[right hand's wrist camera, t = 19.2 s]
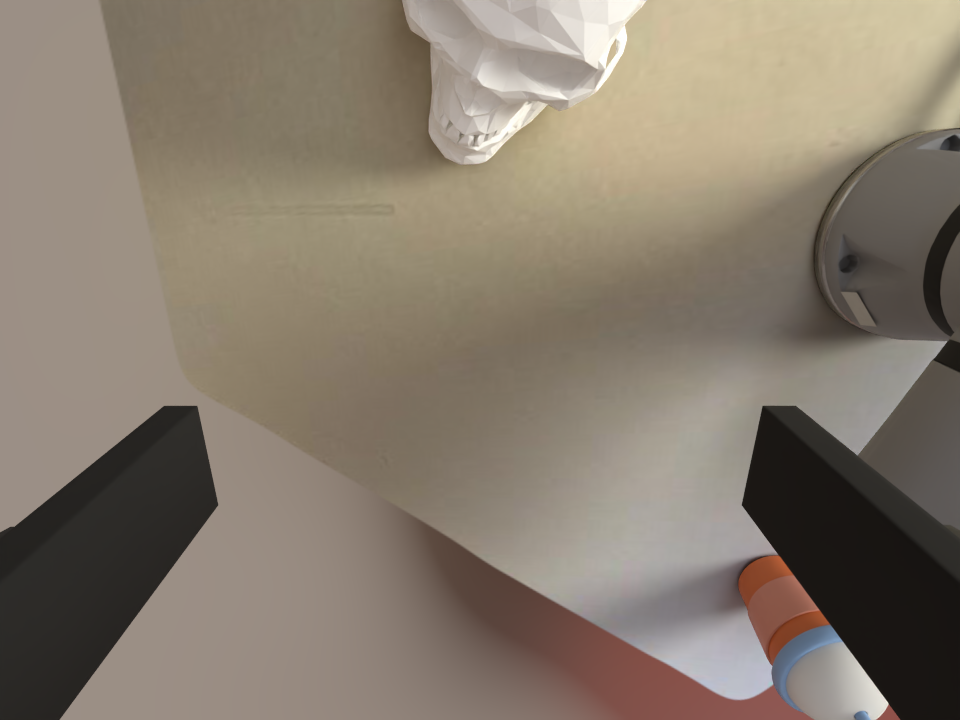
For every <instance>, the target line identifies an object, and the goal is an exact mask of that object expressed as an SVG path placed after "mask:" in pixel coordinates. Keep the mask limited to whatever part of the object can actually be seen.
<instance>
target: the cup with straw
mask: <svg viewBox="0 0 960 720" xmlns="http://www.w3.org/2000/svg"><path fill="white" fill-rule="evenodd" d="M738 587H739V591H740V594H741V596H742V598H743V601H744V603H745V605H746V607H747V609H748V616H749V618H750V621H751V623H752V625H753V628H754V630H755V632H756V634H757V637H758V639H759V641H760V643H761V645H762V648H763V650H764V652H765V654H766V657H767V659H768V661H769V662H770V664H771V665H772V680H773V684H774V686H775V688H776V690H777V692H778V694H779V695H780V696H781V698H782V699H783V700H784V701H785V702H786V703H787V704H788V705H790V706H791V707H793V708H794V709H796V710H798V711H801V712H803V713H805V714H807V715H808V716H810V717H811V718H813V719H815V720H876V719H877V718H878V717H880V716H881V715H882V713H883V712H884V711H885V709H886V708H887V706H888V704H889V703H888V702H887V701H886V699H885V698H884V697H883V695H882V694H881V693H880V691H879V690H878V689H877V687H876V686H875V685H874V683H873V682H872V680H871V679H870V678H869V676H868V675H867V674H866V672H865V671H864V670H863V668H862V667H861V666H860V664H859V663H858V662H857V660H856V659H855V657H854V656H853V655H852V653H851V652H850V651H849V649H848V648H847V647H846V645H845V644H844V643H843V641H842V640H841V639H840V637H839V636H838V634H837V633H836V632H835V630H834V629H833V628H832V626H831V625H830V624H829V622H828V621H827V620H826V618H825V617H824V616H823V614H822V613H821V611H820V610H819V609H818V607H817V606H816V605H815V603H814V602H813V601H812V599H811V598H810V597H809V595H808V594H807V593H806V591H805V590H804V589H803V587H802V586H801V584H800V583H799V582H798V580H797V579H796V578H795V576H794V575H793V574H792V572H791V571H790V570H789V568H788V567H787V566H786V564H785V563H784V561H783V560H782V559H781V557H780V556H767V557H763V558H760V559H758V560H756V561H754V562H752V563H751V564H749V565H748V566H747V567H746V568H745V569H744V571H743V572H742V574H741V575H740V578H739V582H738Z"/></svg>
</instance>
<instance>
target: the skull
mask: <svg viewBox="0 0 960 720" xmlns="http://www.w3.org/2000/svg"><path fill="white" fill-rule="evenodd" d="M646 1H647V0H402V3H403V7H404V12H405V16H406V20H407V23H408V25H409V27H410V29H411V31H412V32H414V33H415V34H417V35H419V36H420V37H422V38H423V39H425V40H426V41H428V42H429V43H430V59H431V78H432V96H431V108H430V114H429V134H430V136H431V139H432V141H433V142H434V143H435V145H436V146H437V147H438V149H439V150H440V151H441V153H442V154H443V155H444V157H445V158H447V159H449V160H451V161H453V162H455V163H457V164H459V165H467V164H479V163H483V162H486V161H487V160H488V159H490V158H491V157H492V156H493V155H494V154H495V153H496V152H497V151H498V150H499V148H500V147H501V146H502V145H503V144H504V143H505V142H506V141H507V140H508V139H510V138H511V137H512V136H513V135H514V134H515V133H516V132H517V131H519V130H520V129H521V128H523V127H524V126H526V125H527V124H528V123H530V122H531V121H532V120H533V119H534V118H535V117H536V116H537V115H538V114H539V113H540V112H541V111H542V110H543V109H544V108H545V107H546V106H547V105H550V106H551V107H553V108H555V109H556V110H558V111H561V110H565V109H568V108H570V107H572V106H574V105H575V104H577V103H579V102H581V101H583V100H585V99H587V98H588V97H590V96H591V95H593V94H594V93H595V92H597V91H598V89H599V88H600V87H601V86H602V84H603V83H604V82H605V81H606V79H607V78H608V77H609V75H610V74H611V72H612V70H613V69H614V67H615V65H616V64H617V62H618V60H619V59H620V57H621V55H622V54H623V51H624V47H625V44H626V40H627V36H626V31H625V26H624V25H625V24H626V23H627V21H628V20H629V19H630V18H631V17H632V16H633V15H634V14H635V13H636V12H637V11H638V10H639V9H640V8H641V7H642V6H643V4H644V3H645V2H646ZM614 40H615V41H616V55H615V56H614V58H613V59H612V60H611V62H610V63H609V65H608V66H607V67H606V61H607V56H608V53H609V50H610V47H611V45H612V44H613V42H614ZM605 68H606V69H605ZM463 134H464V135H463ZM474 135H476V136H474Z"/></svg>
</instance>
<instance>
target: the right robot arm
mask: <svg viewBox="0 0 960 720" xmlns="http://www.w3.org/2000/svg"><path fill="white" fill-rule="evenodd" d="M815 272H816V278H817V282H818V285H819V288H820V290H821V293H822V295H823V297H824V298H825V300H826V302H827V303H828V305H829V306H830V307H831V308H832V309H833V311H834V312H835V313H836V314H837V315H839V316H840V317H841V318H843V319H844V320H845V321H847V322H849V323H850V324H852V325H855V326H857V327H859V328H861V329H863V330H865V331H867V332H870V333H873V334H876V335H881V336H884V337H889V338H894V339H902V340H928V341H948V342H947V343H946V344H945V346H944V347H943V348H942V349H941V351H940V352H939V353H938V355H937V356H936V357H935V358H934V359H933V360H932V361H931V363H930V364H929V365H928V367H927V368H926V369H925V370H924V372H923V373H922V374H921V376H920V377H919V378H918V380H917V381H916V382H915V383H914V385H913V386H912V387H911V389H910V390H909V391H908V393H907V394H906V395H905V396H904V398H903V399H902V400H901V402H900V403H899V404H898V406H897V407H896V408H895V409H894V411H893V412H892V413H891V415H890V416H889V417H888V419H887V420H886V421H885V422H884V424H883V425H882V426H881V427H880V429H879V430H878V431H877V432H876V434H875V435H874V436H873V437H872V439H871V440H870V441H869V442H868V444H867V445H866V446H865V447H864V448H863V450H862V451H861V452H860V453H859V455H858V456H857V455H856V454H855V453H853V452H852V451H851V450H850V449H848V448H847V447H846V446H845V445H844V444H842V443H841V442H840V441H839V440H837V439H836V438H835V437H834V436H832V435H831V434H830V433H829V432H827V431H826V430H825V429H824V428H822V427H821V426H820V425H819V424H817V423H816V422H815V421H814V420H813V419H811V418H810V417H809V416H808V415H806V414H805V413H804V412H803V411H801V410H800V409H799V408H798V407H796V406H763V407H762V412H761V417H760V421H759V426H758V431H757V435H756V440H755V445H754V450H753V454H752V459H751V464H750V469H749V473H748V478H747V483H746V487H745V492H744V497H743V502H742V506H743V507H744V509H745V510H746V511H747V513H748V514H749V515H750V517H751V518H752V520H753V521H754V522H755V524H756V525H757V526H758V528H759V529H760V530H761V532H762V533H763V534H764V536H765V537H766V538H767V540H768V541H769V543H770V544H771V545H772V547H773V548H774V549H775V551H776V552H777V553H778V555H779V556H780V557H781V559H782V560H783V561H784V563H785V564H786V566H787V567H788V568H789V570H790V571H791V572H792V574H793V575H794V576H795V578H796V579H797V580H798V582H799V583H800V584H801V586H802V587H803V589H804V590H805V591H806V593H807V594H808V595H809V597H810V598H811V599H812V601H813V602H814V603H815V605H816V606H817V607H818V609H819V610H820V611H821V613H822V614H823V616H824V617H825V618H826V620H827V621H828V622H829V624H830V625H831V626H832V628H833V629H834V630H835V632H836V633H837V634H838V636H839V637H840V639H841V640H842V641H843V643H844V644H845V645H846V647H847V648H848V649H849V651H850V652H851V653H852V655H853V656H854V657H855V659H856V660H857V662H858V663H859V664H860V666H861V667H862V668H863V670H864V671H865V672H866V674H867V675H868V676H869V678H870V679H871V680H872V682H873V683H874V685H875V686H876V687H877V689H878V690H879V691H880V693H881V694H882V695H883V697H884V698H885V699H886V701H887V702H888V703H889V705H890V706H891V707H892V709H893V710H894V711H895V713H896V714H897V716H898V717H899V718H900V720H960V128H953V129H938V130H931V131H925V132H921V133H918V134H914V135H911V136H909V137H906V138H903V139H901V140H899V141H897V142H895V143H893V144H891V145H889V146H887V147H886V148H884V149H882V150H881V151H879V152H878V153H876V154H875V155H873V156H872V157H871V158H869V159H868V160H867V161H866V162H865V163H863V164H862V165H861V166H860V167H859V168H858V169H857V170H856V171H855V172H854V173H853V174H852V175H851V176H850V177H849V178H848V179H847V181H846V182H845V183H844V184H843V186H842V187H841V188H840V189H839V191H838V192H837V194H836V195H835V197H834V198H833V200H832V202H831V203H830V205H829V207H828V209H827V211H826V213H825V216H824V218H823V220H822V223H821V226H820V229H819V232H818V236H817V240H816V247H815ZM217 506H218V502H217V497H216V492H215V487H214V483H213V478H212V474H211V469H210V464H209V459H208V454H207V450H206V445H205V440H204V435H203V431H202V426H201V421H200V417H199V412H198V407H197V406H164V407H162V408H161V409H160V410H159V411H157V412H156V413H155V414H154V415H152V416H151V417H150V418H149V419H147V420H146V421H145V422H144V423H143V424H141V425H140V426H139V427H138V428H136V429H135V430H134V431H133V432H131V433H130V434H129V435H128V436H126V437H125V438H124V439H123V440H121V441H120V442H119V443H118V444H117V445H115V446H114V447H113V448H112V449H110V450H109V451H108V452H107V453H105V454H104V455H103V456H102V457H100V458H99V459H98V460H97V461H95V462H94V463H93V464H92V465H91V466H89V467H88V468H87V469H86V470H84V471H83V472H82V473H81V474H79V475H78V476H77V477H76V478H74V479H73V480H72V481H71V482H69V483H68V484H67V485H66V486H64V487H63V488H62V489H61V490H60V491H58V492H57V493H56V494H55V495H53V496H52V497H51V498H50V499H48V500H47V501H46V502H45V503H43V504H42V505H41V506H40V507H38V508H37V509H36V510H35V511H34V512H32V513H31V514H30V515H29V516H27V517H26V518H25V519H24V520H22V521H21V522H20V523H19V524H17V525H16V526H15V527H9V528H8V529H6V530H4V531H2V532H0V720H60V718H61V717H62V716H63V714H64V713H65V712H66V710H67V709H68V708H69V706H70V705H71V703H72V702H73V701H74V699H75V698H76V697H77V695H78V694H79V693H80V691H81V690H82V689H83V687H84V686H85V685H86V683H87V682H88V680H89V679H90V678H91V676H92V675H93V674H94V672H95V671H96V670H97V668H98V667H99V666H100V664H101V663H102V662H103V660H104V659H105V657H106V656H107V655H108V653H109V652H110V651H111V649H112V648H113V647H114V645H115V644H116V643H117V641H118V640H119V639H120V637H121V636H122V634H123V633H124V632H125V630H126V629H127V628H128V626H129V625H130V624H131V622H132V621H133V620H134V618H135V617H136V616H137V614H138V613H139V611H140V610H141V609H142V607H143V606H144V605H145V603H146V602H147V601H148V599H149V598H150V597H151V595H152V594H153V593H154V591H155V590H156V589H157V587H158V586H159V584H160V583H161V582H162V580H163V579H164V578H165V576H166V575H167V574H168V572H169V571H170V569H171V568H172V567H173V566H174V564H175V563H176V561H177V560H178V559H179V557H180V556H181V555H182V553H183V552H184V551H185V549H186V548H187V547H188V545H189V544H190V543H191V541H192V540H193V538H194V537H195V536H196V534H197V533H198V532H199V530H200V529H201V528H202V526H203V525H204V524H205V522H206V521H207V519H208V518H209V517H210V515H211V514H212V513H213V511H214V510H215V509H216V507H217Z"/></svg>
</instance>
